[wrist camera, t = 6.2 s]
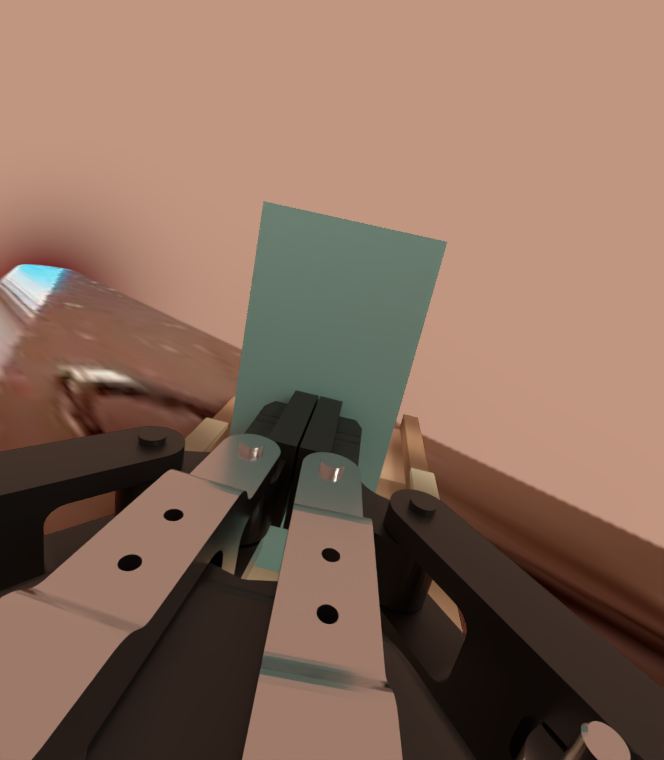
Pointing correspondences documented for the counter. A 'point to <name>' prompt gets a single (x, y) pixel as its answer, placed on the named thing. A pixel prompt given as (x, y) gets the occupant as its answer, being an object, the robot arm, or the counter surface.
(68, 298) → the counter surface
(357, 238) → the teal block
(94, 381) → the counter surface
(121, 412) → the counter surface
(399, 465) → the box
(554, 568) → the counter surface
